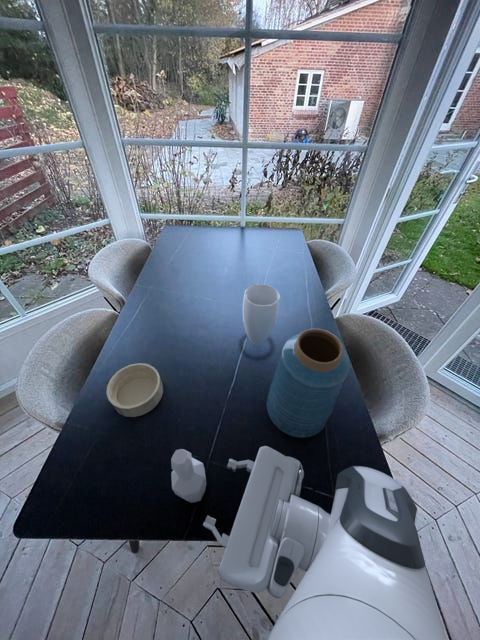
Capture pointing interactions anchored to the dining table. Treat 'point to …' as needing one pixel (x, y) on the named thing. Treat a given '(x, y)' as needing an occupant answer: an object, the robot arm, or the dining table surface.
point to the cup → (260, 312)
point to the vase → (307, 382)
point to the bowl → (135, 390)
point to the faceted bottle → (187, 476)
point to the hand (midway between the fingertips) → (217, 490)
